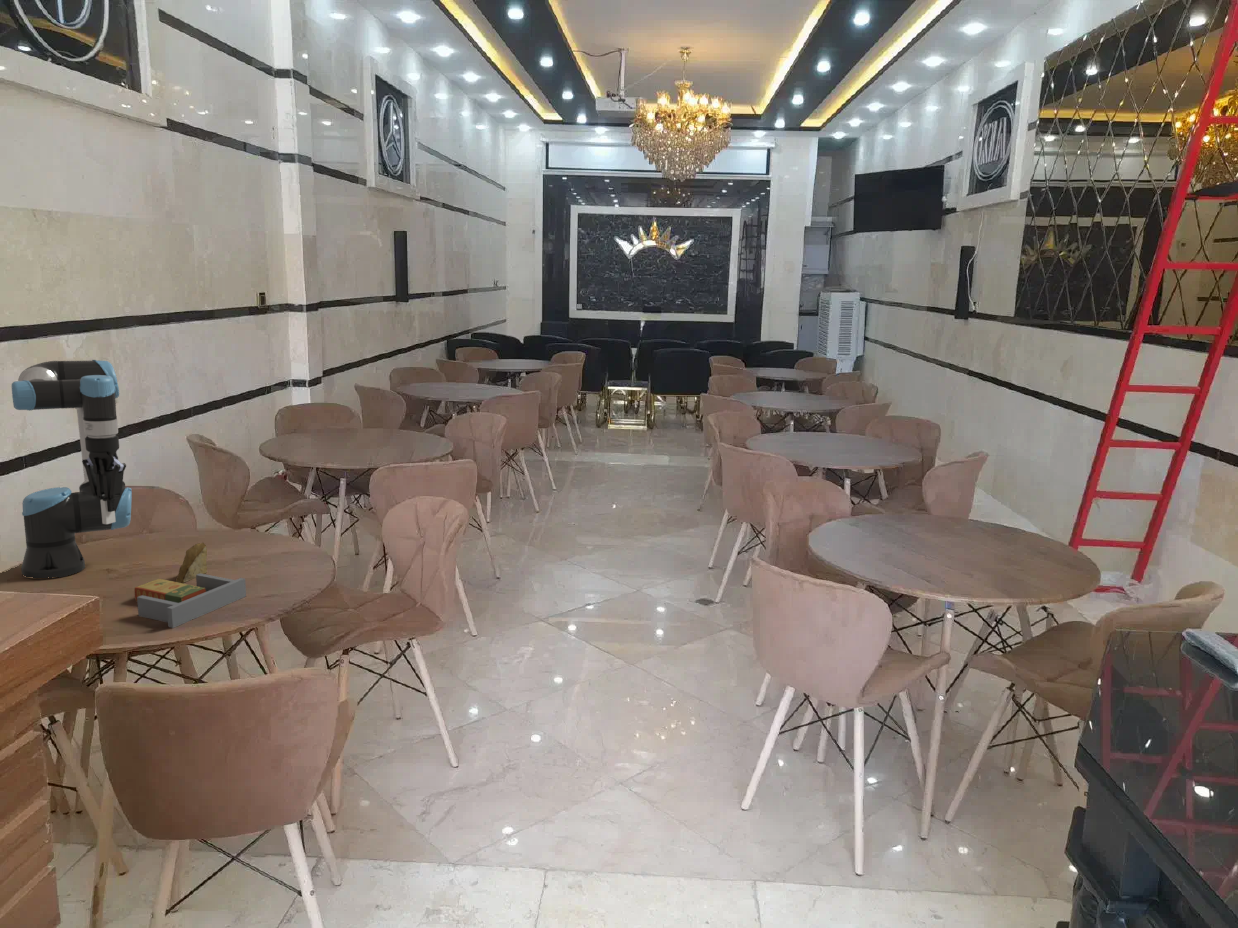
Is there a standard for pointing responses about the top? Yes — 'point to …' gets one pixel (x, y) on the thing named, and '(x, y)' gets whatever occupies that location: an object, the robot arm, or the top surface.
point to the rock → (193, 563)
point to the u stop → (193, 601)
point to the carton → (168, 590)
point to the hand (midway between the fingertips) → (109, 522)
